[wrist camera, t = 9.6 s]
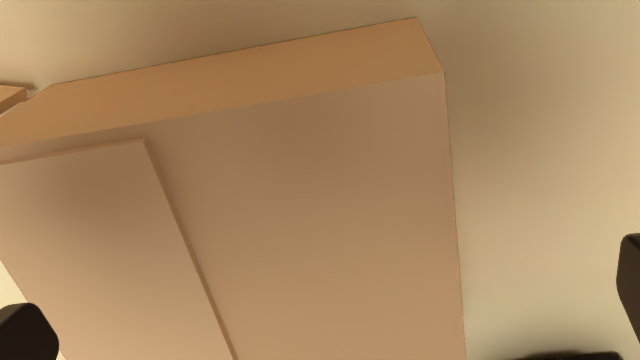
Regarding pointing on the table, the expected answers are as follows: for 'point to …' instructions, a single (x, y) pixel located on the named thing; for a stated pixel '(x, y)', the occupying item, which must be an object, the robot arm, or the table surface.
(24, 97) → the flap
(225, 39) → the table surface
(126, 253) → the carton
